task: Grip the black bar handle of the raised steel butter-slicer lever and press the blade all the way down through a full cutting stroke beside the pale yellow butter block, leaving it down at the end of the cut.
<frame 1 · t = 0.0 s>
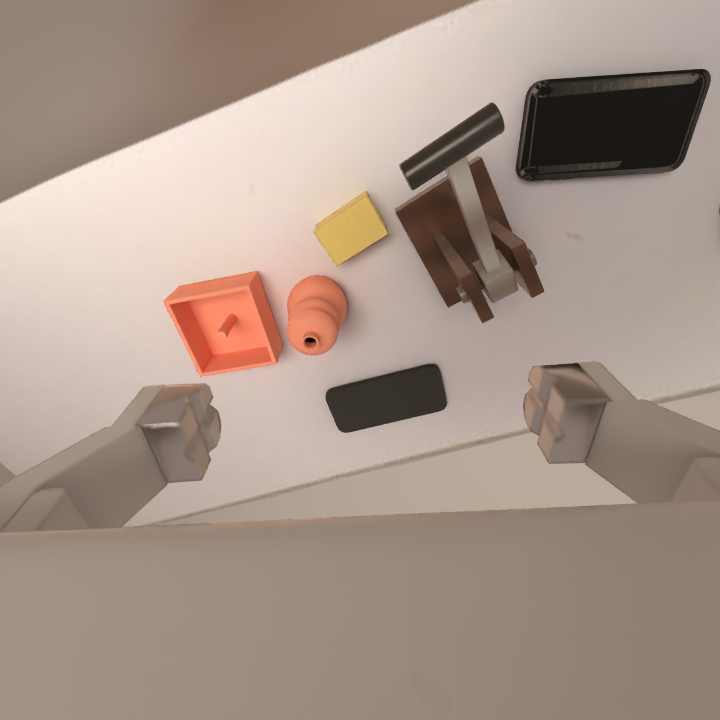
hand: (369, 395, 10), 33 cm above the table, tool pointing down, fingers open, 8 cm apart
pottery: (270, 309, 45), on the table
brown wooden frame: (460, 236, 41), on the table
phone: (386, 397, 52), on the table
butter block: (351, 225, 40), on the table
phone 2: (602, 128, 36), on the table
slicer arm: (477, 227, 26), point 14 cm above the table, hinge at 26.0°
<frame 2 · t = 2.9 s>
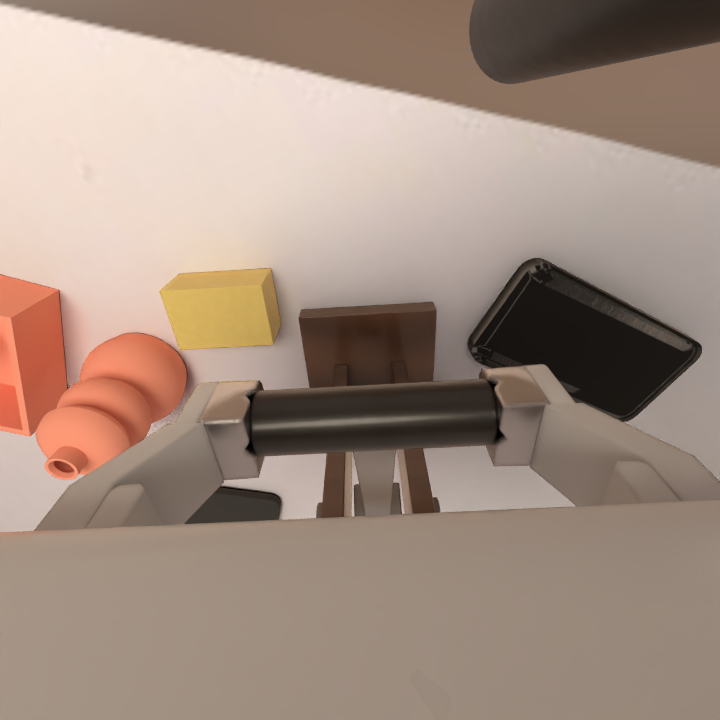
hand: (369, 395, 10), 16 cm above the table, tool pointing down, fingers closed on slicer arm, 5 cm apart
pottery: (64, 347, 28), on the table
brown wooden frame: (370, 378, 30), on the table
phone: (200, 507, 38), on the table
butter block: (232, 299, 26), on the table
phone 2: (577, 344, 28), on the table
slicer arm: (376, 485, 15), point 14 cm above the table, hinge at 26.0°, touching gripper
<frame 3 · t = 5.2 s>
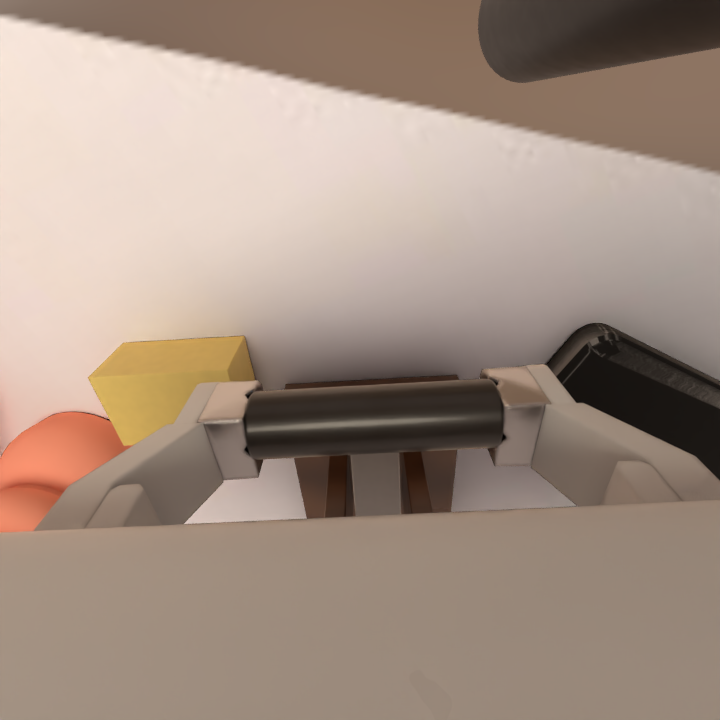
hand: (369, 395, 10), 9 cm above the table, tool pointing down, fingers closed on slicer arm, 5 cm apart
brown wooden frame: (375, 460, 24), on the table
butter block: (195, 372, 20), on the table
phone 2: (639, 421, 22), on the table
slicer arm: (383, 608, 11), point 11 cm above the table, hinge at -10.4°, touching gripper
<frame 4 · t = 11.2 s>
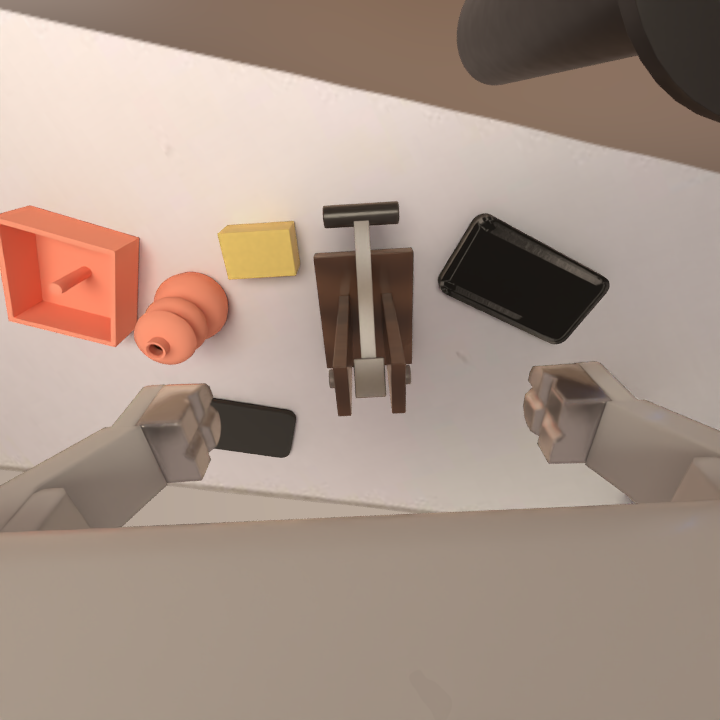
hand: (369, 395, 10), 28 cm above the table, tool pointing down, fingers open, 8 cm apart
pottery: (138, 284, 38), on the table
brown wooden frame: (366, 309, 39), on the table
phone: (231, 423, 47), on the table
butter block: (264, 245, 36), on the table
phone 2: (519, 281, 38), on the table
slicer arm: (365, 300, 29), point 9 cm above the table, hinge at -30.2°
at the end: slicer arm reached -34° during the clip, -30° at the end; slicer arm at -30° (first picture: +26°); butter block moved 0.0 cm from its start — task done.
